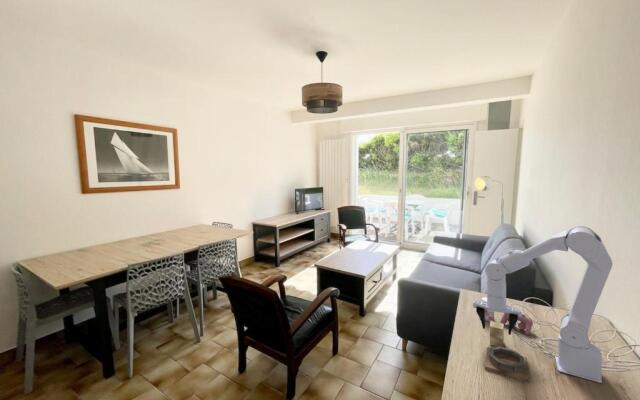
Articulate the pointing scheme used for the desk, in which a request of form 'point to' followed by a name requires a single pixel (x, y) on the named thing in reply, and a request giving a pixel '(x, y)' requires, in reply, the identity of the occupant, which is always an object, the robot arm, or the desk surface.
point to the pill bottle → (488, 312)
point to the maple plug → (496, 334)
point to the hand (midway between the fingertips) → (496, 330)
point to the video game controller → (524, 322)
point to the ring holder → (507, 363)
